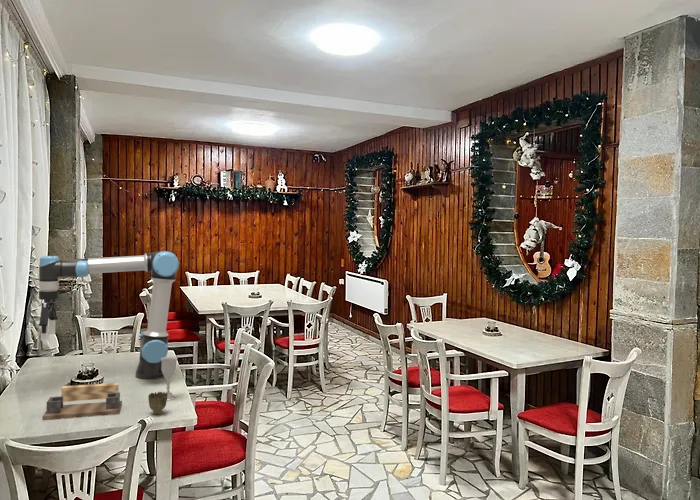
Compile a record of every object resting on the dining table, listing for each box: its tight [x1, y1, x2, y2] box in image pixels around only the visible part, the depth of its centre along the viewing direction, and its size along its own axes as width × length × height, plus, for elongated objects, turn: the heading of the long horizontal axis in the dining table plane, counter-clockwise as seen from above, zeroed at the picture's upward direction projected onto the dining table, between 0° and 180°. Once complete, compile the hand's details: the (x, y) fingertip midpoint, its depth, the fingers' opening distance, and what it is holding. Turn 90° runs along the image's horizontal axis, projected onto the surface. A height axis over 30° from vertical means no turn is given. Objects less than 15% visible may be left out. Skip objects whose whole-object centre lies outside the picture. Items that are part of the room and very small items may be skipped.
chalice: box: [161, 356, 178, 400], centre depth 222 cm, size 7×7×18 cm
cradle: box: [42, 391, 123, 421], centre depth 203 cm, size 27×12×6 cm, turn 110°
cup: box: [147, 391, 168, 415], centre depth 204 cm, size 8×7×8 cm
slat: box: [60, 382, 120, 403], centre depth 218 cm, size 22×3×6 cm, turn 110°
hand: (48, 337), depth 225 cm, fingers open, 13 cm apart
